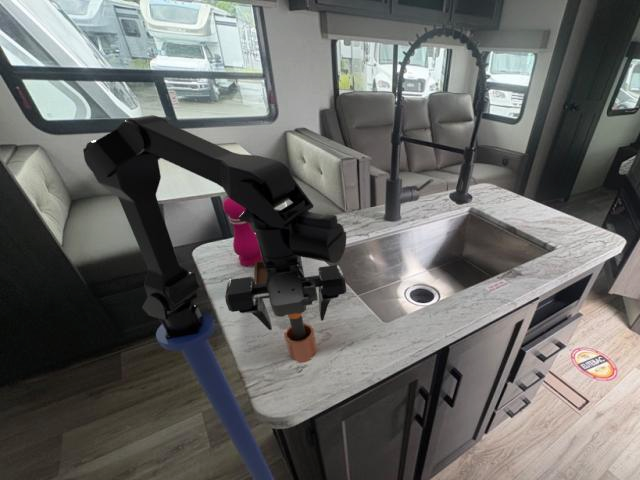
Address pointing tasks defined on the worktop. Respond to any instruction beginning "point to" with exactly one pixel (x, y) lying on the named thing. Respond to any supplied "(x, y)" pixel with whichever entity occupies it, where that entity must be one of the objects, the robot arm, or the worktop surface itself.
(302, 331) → the marker
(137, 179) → the robot arm
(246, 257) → the pepper mill
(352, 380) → the worktop surface
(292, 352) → the pen cup
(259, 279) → the tray
